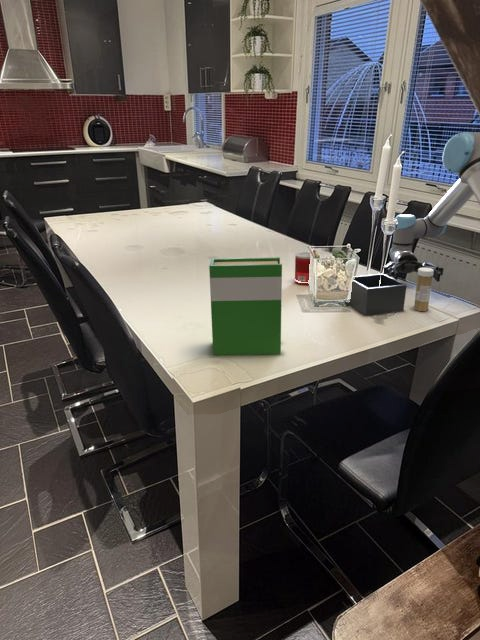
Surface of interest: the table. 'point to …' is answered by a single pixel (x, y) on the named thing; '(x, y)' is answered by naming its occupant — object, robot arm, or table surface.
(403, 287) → the black open box
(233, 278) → the hardback book
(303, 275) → the canned food
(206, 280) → the table surface
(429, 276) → the sprinkles bottle
